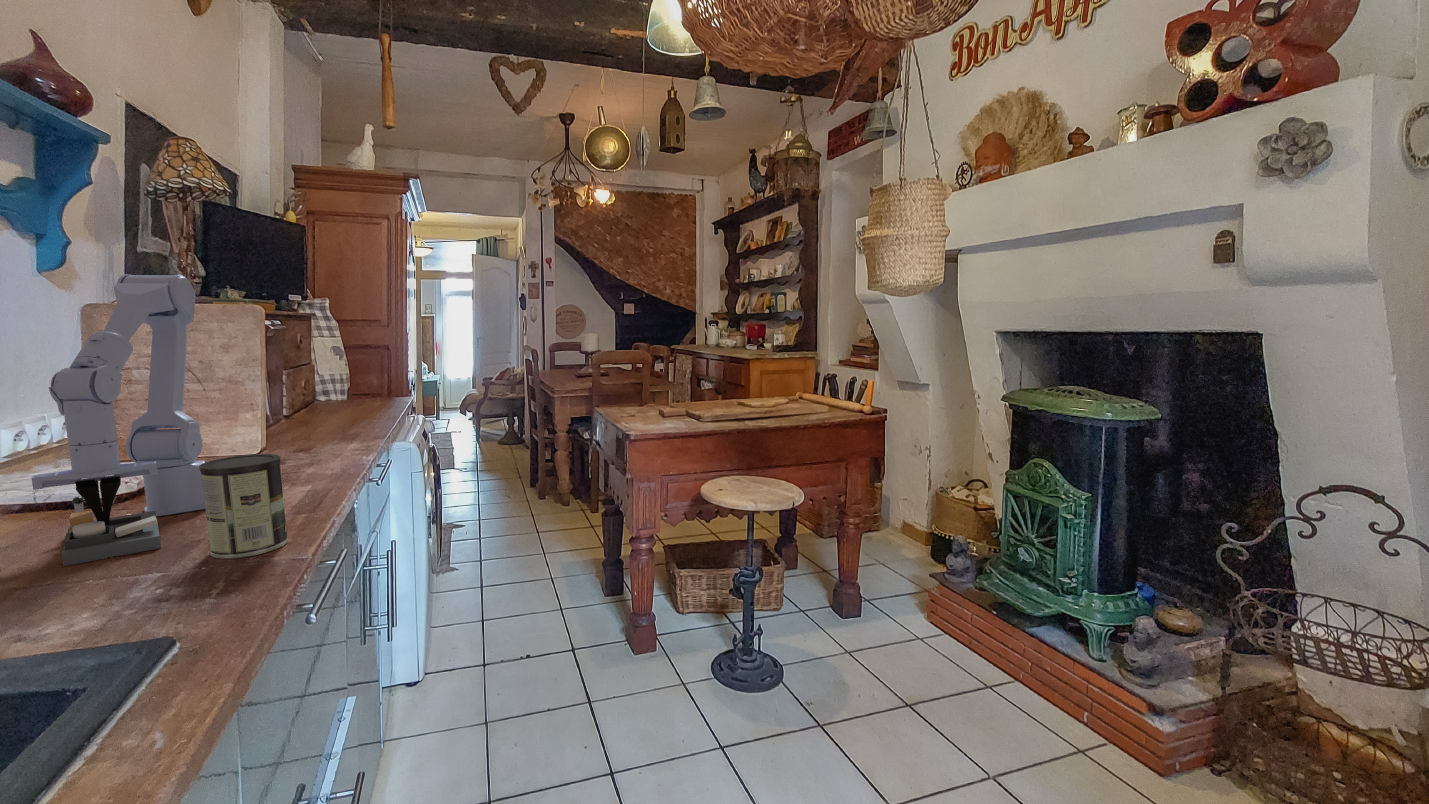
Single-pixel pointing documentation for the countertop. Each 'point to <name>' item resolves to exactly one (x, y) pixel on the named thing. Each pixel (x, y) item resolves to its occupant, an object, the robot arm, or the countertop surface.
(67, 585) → the countertop surface
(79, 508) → the lever
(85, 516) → the slider
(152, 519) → the beige flat panel
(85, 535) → the button
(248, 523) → the coffee can
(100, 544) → the console
